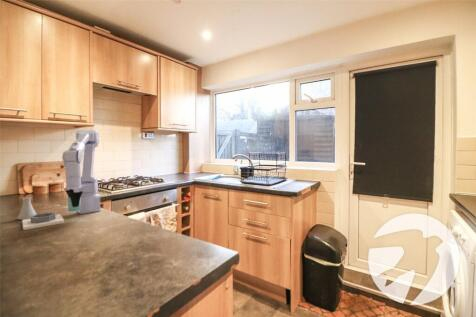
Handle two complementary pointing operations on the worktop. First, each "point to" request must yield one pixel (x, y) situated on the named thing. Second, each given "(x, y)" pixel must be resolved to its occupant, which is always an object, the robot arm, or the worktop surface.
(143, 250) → the worktop surface
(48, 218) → the mount
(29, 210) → the flask
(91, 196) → the robot arm
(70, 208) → the cap
